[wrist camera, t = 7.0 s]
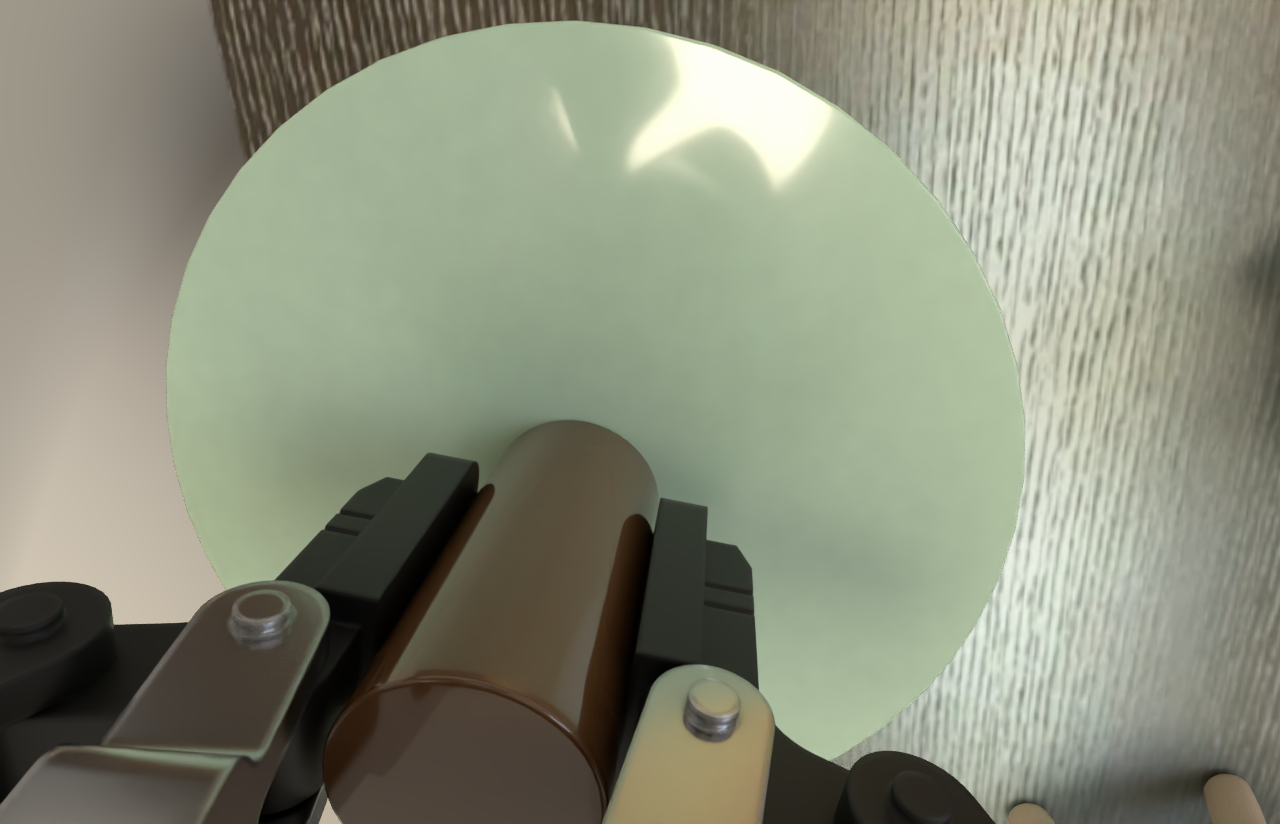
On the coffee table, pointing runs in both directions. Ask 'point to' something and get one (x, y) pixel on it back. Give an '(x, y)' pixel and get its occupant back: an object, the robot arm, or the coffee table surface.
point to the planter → (1224, 794)
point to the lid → (596, 395)
